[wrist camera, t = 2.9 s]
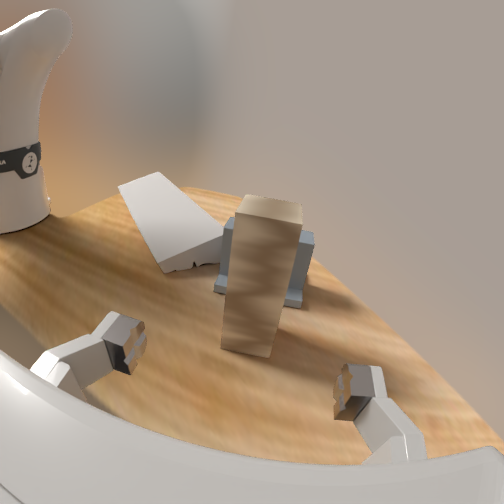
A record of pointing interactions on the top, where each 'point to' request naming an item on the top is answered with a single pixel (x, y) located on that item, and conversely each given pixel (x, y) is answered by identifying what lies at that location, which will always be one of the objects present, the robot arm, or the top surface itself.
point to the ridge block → (298, 270)
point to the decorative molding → (172, 223)
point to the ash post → (259, 272)
